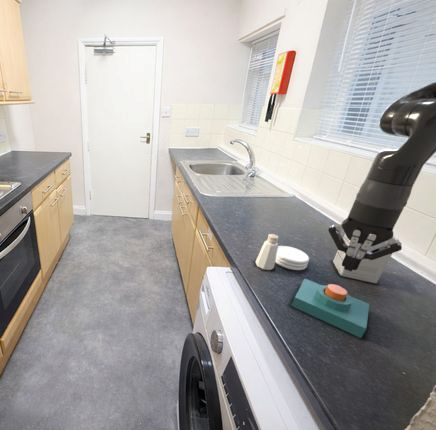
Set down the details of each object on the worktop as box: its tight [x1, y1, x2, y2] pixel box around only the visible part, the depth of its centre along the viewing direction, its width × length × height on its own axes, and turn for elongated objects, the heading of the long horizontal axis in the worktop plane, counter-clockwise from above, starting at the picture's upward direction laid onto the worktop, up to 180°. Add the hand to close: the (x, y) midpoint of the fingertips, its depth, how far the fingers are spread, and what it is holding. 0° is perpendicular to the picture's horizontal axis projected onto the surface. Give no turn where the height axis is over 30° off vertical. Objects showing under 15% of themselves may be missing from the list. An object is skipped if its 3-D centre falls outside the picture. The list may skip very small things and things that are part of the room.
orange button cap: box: [325, 283, 348, 301], centre depth 66 cm, size 4×4×2 cm
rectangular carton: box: [332, 233, 400, 284], centre depth 80 cm, size 9×9×15 cm
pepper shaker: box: [255, 233, 279, 271], centre depth 83 cm, size 5×5×11 cm
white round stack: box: [275, 245, 310, 271], centre depth 87 cm, size 10×10×4 cm
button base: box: [291, 278, 370, 339], centre depth 67 cm, size 14×11×5 cm
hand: (347, 268), depth 63 cm, fingers closed
